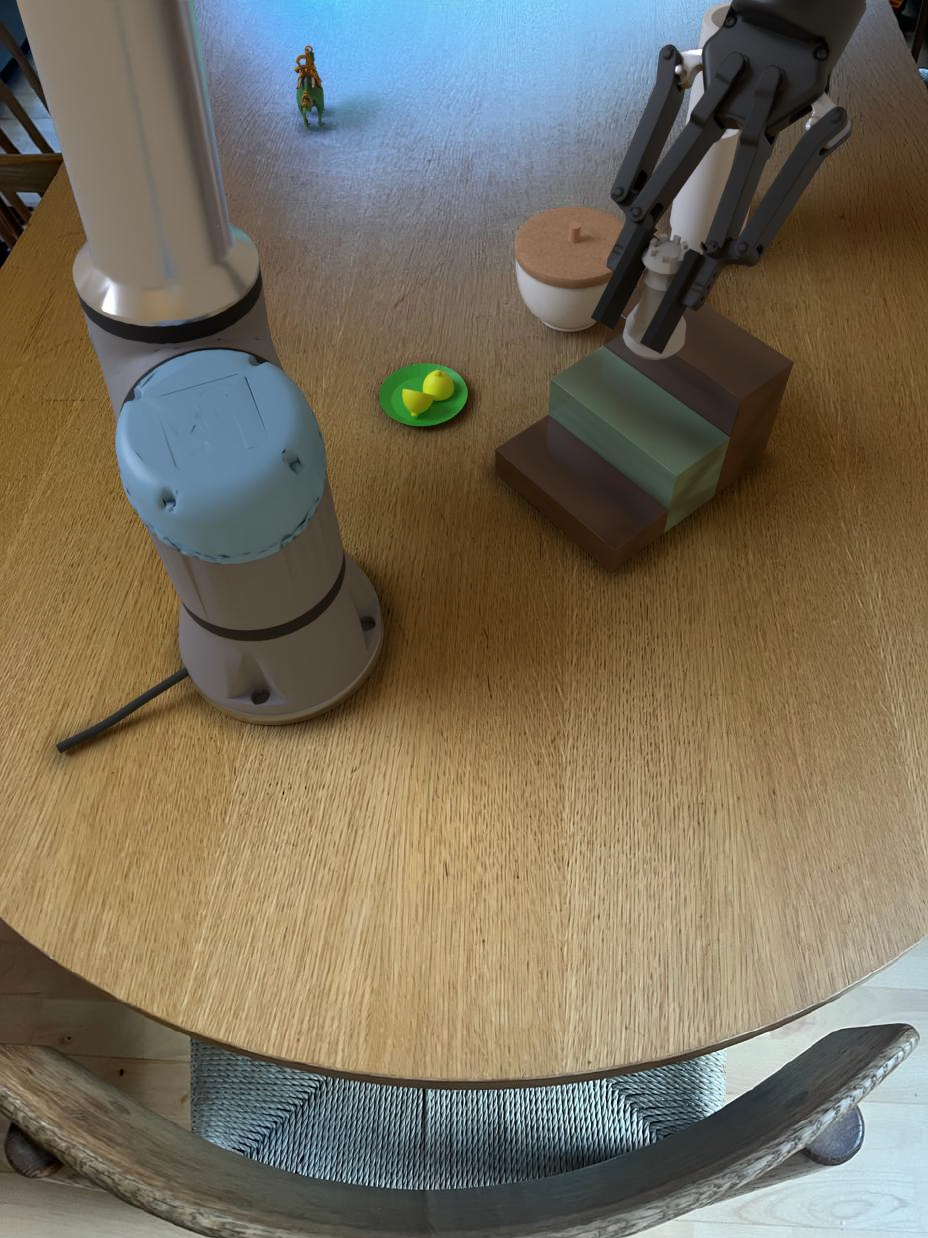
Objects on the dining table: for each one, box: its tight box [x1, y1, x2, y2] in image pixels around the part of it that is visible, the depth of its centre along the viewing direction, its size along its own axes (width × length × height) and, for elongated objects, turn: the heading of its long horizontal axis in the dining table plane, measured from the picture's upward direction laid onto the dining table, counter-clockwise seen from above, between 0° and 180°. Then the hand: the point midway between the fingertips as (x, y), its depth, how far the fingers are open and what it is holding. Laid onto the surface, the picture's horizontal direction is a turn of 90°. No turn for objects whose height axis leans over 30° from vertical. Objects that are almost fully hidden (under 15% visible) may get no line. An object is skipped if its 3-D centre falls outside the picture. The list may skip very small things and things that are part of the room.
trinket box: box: [514, 206, 625, 333], centre depth 91 cm, size 11×11×9 cm
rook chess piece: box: [623, 233, 688, 360], centre depth 67 cm, size 4×4×8 cm
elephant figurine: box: [294, 44, 326, 130], centre depth 110 cm, size 3×12×8 cm, turn 2°
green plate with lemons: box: [378, 362, 468, 427], centre depth 88 cm, size 8×8×3 cm
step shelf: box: [494, 283, 795, 574], centre depth 79 cm, size 18×14×11 cm
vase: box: [669, 0, 751, 255], centre depth 92 cm, size 11×7×20 cm, turn 172°
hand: (626, 335), depth 67 cm, fingers closed on rook chess piece, 3 cm apart
